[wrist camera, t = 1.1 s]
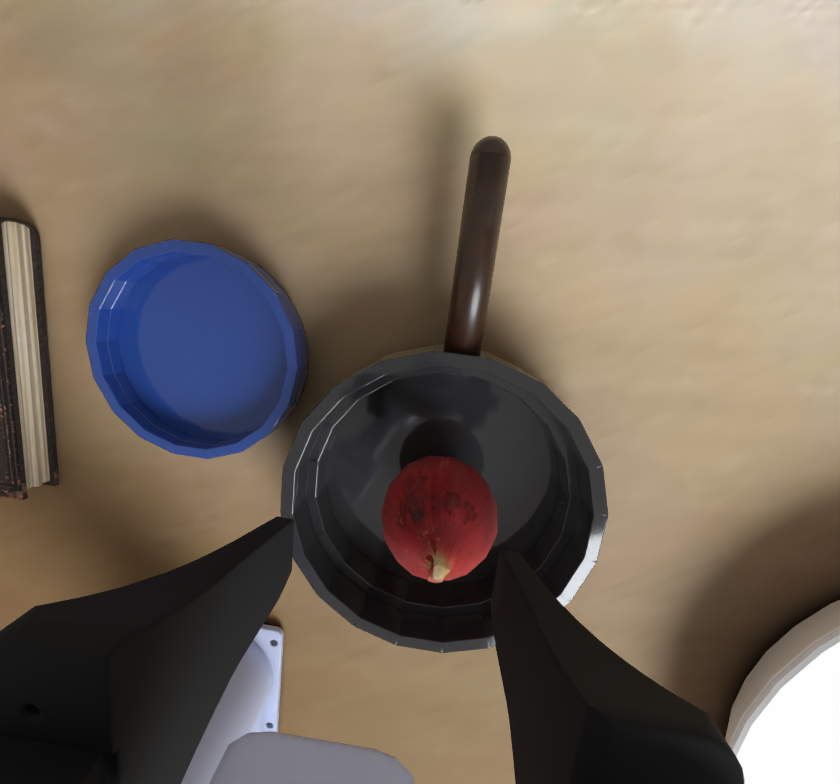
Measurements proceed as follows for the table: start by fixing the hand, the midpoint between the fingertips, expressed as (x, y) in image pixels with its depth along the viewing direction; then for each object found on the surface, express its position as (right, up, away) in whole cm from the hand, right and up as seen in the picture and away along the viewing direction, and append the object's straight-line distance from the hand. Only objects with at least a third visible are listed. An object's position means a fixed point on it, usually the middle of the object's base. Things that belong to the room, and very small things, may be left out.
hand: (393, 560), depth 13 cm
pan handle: (+4, +12, +6) cm, 14 cm away
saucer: (-12, +8, +10) cm, 17 cm away
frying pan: (+2, 0, +10) cm, 10 cm away
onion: (+2, 0, +10) cm, 10 cm away
